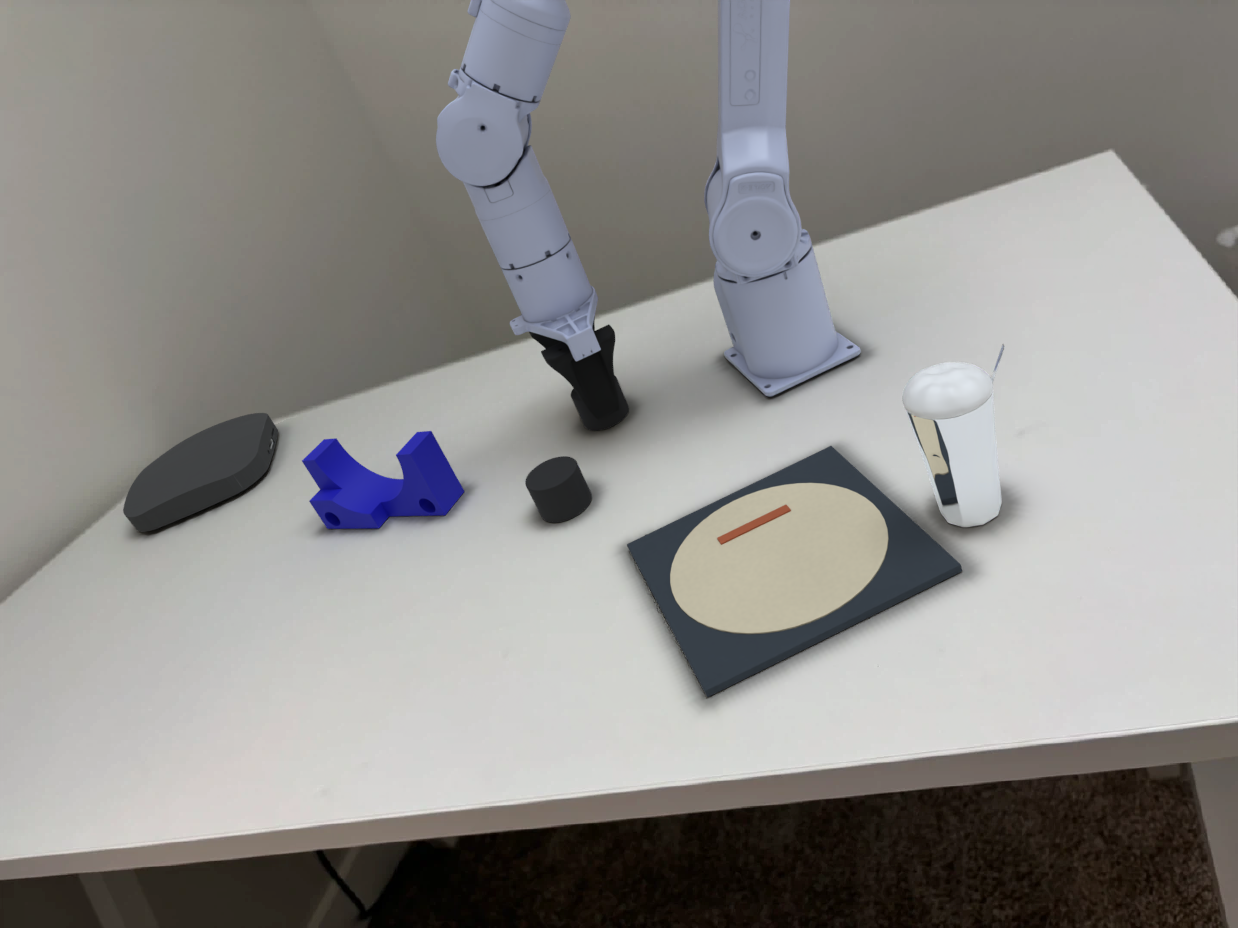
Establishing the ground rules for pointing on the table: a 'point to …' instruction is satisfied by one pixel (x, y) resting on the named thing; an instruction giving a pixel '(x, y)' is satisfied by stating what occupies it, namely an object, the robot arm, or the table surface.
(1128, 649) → the table surface
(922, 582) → the board
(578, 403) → the dot
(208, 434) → the media streaming box
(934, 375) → the milkshake
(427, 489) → the cable clip
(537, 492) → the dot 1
